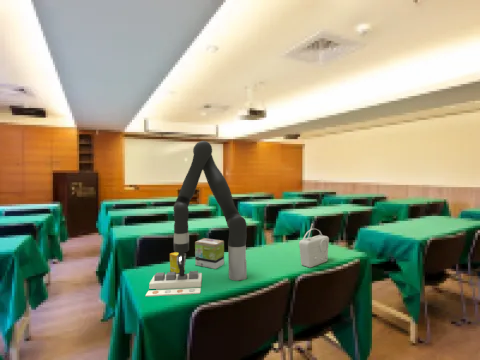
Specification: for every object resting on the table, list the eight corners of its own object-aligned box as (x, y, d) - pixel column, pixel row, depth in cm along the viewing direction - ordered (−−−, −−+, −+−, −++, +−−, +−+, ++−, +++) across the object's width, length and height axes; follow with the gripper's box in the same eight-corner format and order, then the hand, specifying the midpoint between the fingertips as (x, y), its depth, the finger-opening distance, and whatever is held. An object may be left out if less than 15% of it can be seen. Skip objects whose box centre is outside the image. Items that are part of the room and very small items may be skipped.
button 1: (198, 276, 141) (198, 270, 140) (197, 279, 136) (197, 273, 136) (189, 277, 140) (189, 271, 140) (189, 280, 136) (188, 274, 136)
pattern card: (200, 288, 131) (200, 287, 131) (200, 293, 126) (200, 292, 126) (148, 291, 129) (148, 290, 129) (145, 296, 124) (145, 295, 124)
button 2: (187, 279, 140) (187, 273, 140) (186, 282, 136) (186, 276, 136) (178, 279, 140) (178, 274, 140) (177, 283, 136) (177, 277, 135)
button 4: (164, 278, 139) (164, 272, 139) (163, 281, 135) (163, 275, 135) (156, 278, 139) (156, 272, 139) (154, 281, 134) (154, 275, 134)
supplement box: (178, 269, 158) (177, 250, 158) (185, 271, 154) (184, 252, 154) (169, 272, 153) (169, 253, 153) (176, 275, 150) (176, 255, 149)
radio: (310, 269, 154) (309, 225, 154) (298, 266, 161) (298, 223, 160) (331, 261, 168) (331, 221, 167) (320, 258, 175) (319, 219, 174)
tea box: (194, 265, 164) (194, 241, 164) (204, 260, 173) (204, 237, 173) (215, 269, 157) (215, 244, 157) (224, 264, 166) (224, 240, 166)
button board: (202, 278, 144) (201, 272, 144) (200, 287, 133) (200, 281, 133) (154, 280, 142) (154, 275, 142) (149, 289, 131) (149, 283, 131)
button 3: (176, 277, 140) (175, 271, 139) (174, 280, 135) (174, 274, 135) (167, 278, 139) (167, 272, 139) (166, 281, 135) (166, 275, 135)
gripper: (187, 244, 131) (188, 280, 131) (190, 238, 144) (190, 270, 145) (171, 245, 130) (172, 281, 131) (175, 238, 143) (176, 271, 144)
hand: (182, 275), depth 138 cm, fingers closed
